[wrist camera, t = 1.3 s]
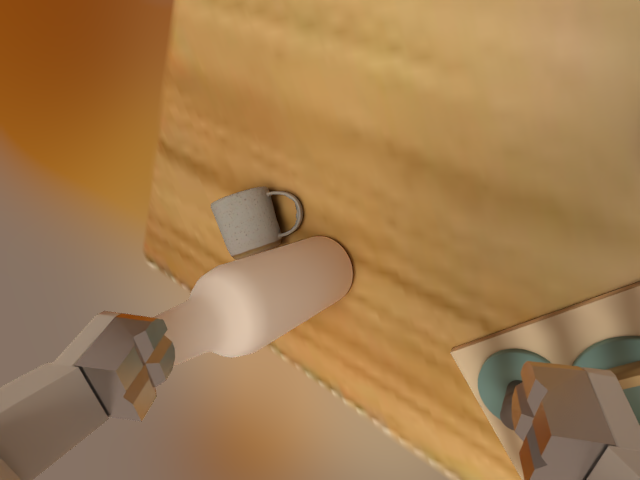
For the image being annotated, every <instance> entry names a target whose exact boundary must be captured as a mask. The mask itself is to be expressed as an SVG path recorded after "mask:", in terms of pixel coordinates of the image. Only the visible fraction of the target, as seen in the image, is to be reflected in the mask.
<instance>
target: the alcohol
mask: <svg viewBox="0 0 640 480" xmlns="http://www.w3.org/2000/svg"><path fill="white" fill-rule="evenodd" d="M352 278H353V270H352V265H351V261H350V259H349V257H348V254H347V253H346V251H345V250H344V249H343V247H342V246H341V245H339V244H338V243H337V242H336V241H334V240H333V239H330V238H328V237H323V236H314V237H311V238H308V239H304V240H301V241H298V242H294V243H291V244H288V245H285V246H281V247H278V248H275V249H272V250H268V251H265V252H262V253H259V254H255V255H252V256H249V257H245V258H242V259H239V260H236V261H232V262H229V263H226V264H223V265H219V266H217V267H215V268H213V269H212V270H210V271H209V272H208V273H206V274H205V275H203V276H202V277H201V278H200V279H199V280H198V281H197V283H196V285H195V286H194V288H193V290H192V292H191V294H190V297H189V299H188V300H187V301H186V302H184V303H182V304H180V305H177V306H176V307H173V308H171V309H169V310H167V311H165V312H163V313H161V314H159V315H157V316H155V317H152V318H158V319H163V320H164V322H165V324H166V327H167V329H168V330H167V331H166V333H165V334H164V335H165V336H166V337H167V338H168V339H170V340H171V341H172V342H173V345H174V348H175V361H174V365H173V366H176V365H178V364H180V363H182V362H185V361H187V360H189V359H192V358H194V357H197V356H199V355H202V354H204V353H206V352H213V353H216V354H218V355H221V356H226V357H239V356H244V355H248V354H251V353H254V352H256V351H258V350H259V349H261V348H263V347H264V346H266V345H268V344H269V343H271V342H272V341H274V340H276V339H277V338H279V337H281V336H282V335H284V334H285V333H287V332H289V331H290V330H292V329H293V328H295V327H297V326H298V325H300V324H301V323H303V322H305V321H306V320H308V319H310V318H311V317H313V316H314V315H316V314H318V313H319V312H321V311H322V310H324V309H326V308H327V307H329V306H331V305H332V304H334V303H335V302H337V301H339V300H340V299H341V298H343V297H344V296H345V295H346V294H347V292H348V291H349V289H350V287H351V283H352Z"/></svg>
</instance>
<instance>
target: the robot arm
mask: <svg viewBox="0 0 640 480" xmlns="http://www.w3.org/2000/svg"><path fill="white" fill-rule="evenodd" d="M167 330H168V329H167V327H166V324H165V322H164V320H163V319H158V318H152V317H145V316H138V315H131V314H124V313H116V312H108V311H103V312H101V313H99V314H97V315H96V316H95V317H94V318H93V319H92V320H91V321H90V323H89V324H88V325H87V326H86V327H85V328H84V329H83V330H82V332H80V334H79V335H78V336H77V337H76V338H75V339H74V340H73V341H72V343H71V344H70V345H69V346H68V347H67V348H66V349H65V350H64V351H63V353H62V354H61V355H60V356H59V357H58V358H57V359H56V360H55V361H54V362H53V363H45V364H43V365H42V366H40V367H38V368H36V369H34V370H32V371H30V372H28V373H26V374H24V375H23V376H21V377H19V378H17V379H15V380H13V381H11V382H9V383H8V384H6V385H4V386H2V387H0V480H33V479H34V478H35V477H37V476H38V475H39V474H40V473H42V472H43V471H44V470H46V469H47V468H48V467H49V466H51V465H52V464H53V463H54V462H56V461H57V460H58V459H59V458H61V457H62V456H63V455H64V454H66V453H67V452H68V451H69V450H71V449H72V448H73V447H74V446H76V445H77V444H78V443H79V442H81V441H82V440H83V439H84V438H86V437H87V436H88V435H89V434H91V433H92V432H93V431H95V430H96V429H97V428H98V427H100V426H101V425H102V424H103V423H105V422H106V421H107V420H108V419H109V418H108V417H113V418H120V419H127V420H135V421H142V420H143V418H144V417H145V415H146V413H147V412H148V410H149V408H150V407H151V405H152V403H153V402H154V400H155V398H156V396H157V395H156V387H157V386H158V385H160V384H161V383H163V382H164V381H166V380H167V378H168V376H169V374H170V373H171V371H172V368H173V365H174V361H175V348H174V345H173V342H172V341H171V340H170V339H168V338H167V337H166V336H165V335H164V334H165V333H166V331H167ZM520 373H521V377H522V381H523V382H522V383H520V384H518V385H517V386H515V389H514V393H513V396H512V408H511V410H512V421H513V426H514V431H515V433H516V434H517V435H518V436H519V437H520V439H521V440H522V441H523V445H522V447H521V449H520V452H519V456H520V461H521V465H522V470H523V475H524V480H640V425H639V423H638V421H637V419H636V417H635V414H634V412H633V410H632V408H631V406H630V404H629V402H628V400H627V398H626V396H625V394H624V392H623V390H622V387H621V385H620V383H619V381H618V379H617V377H616V375H615V374H614V373H613V372H612V371H611V370H602V369H594V368H585V367H579V366H570V365H561V364H551V363H542V362H532V361H527V362H525V363H524V364H523V367H522V370H521V372H520Z"/></svg>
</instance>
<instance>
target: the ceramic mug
mask: <svg viewBox="0 0 640 480" xmlns="http://www.w3.org/2000/svg"><path fill="white" fill-rule="evenodd" d="M277 194H279V195H285V196H287V197H289V198H290V199H292V200H293V201H294V202H295V205H296V209H297V214H296V218H297V220H296V224H295V225H294V227H293V228H292V229H291V230H289V231H287V232H285V233H281V231H280V228H279V224H278V222H277V219H276V215H275V211H274V207H273V203H272V200H271V196H272V195H277ZM211 209H212V211H213V213H214V216H215V218H216V221H217V224H218V226H219V229H220V231H221V234H222V236H223V239H224V242H225V244H226V247H227V249H228V251H229V253H230V254H231V256H232V257H233V258H234V259H236V260H239V259H242V258H245V257H249V256H252V255H255V254H258V253H261V252H264V251H266V250H269V249H272V248H275V247H277V246H279V245H280V244H281V238H282V237H283V236H287V235H289V234H291V233H292V232H294V231H295V230H296V229H297V228H298V227H299V226H300V224H301V222H302V218H303V210H302V206H301V204H300V201H299V200H298V199H297V198H296V197H295V196H294V195H292V194H290V193H288V192H283V191H272V192H269V190H268V188H267V187H257V188H252V189H248V190H245V191H241V192H238V193H235V194H232V195H229V196H226V197H224V198H221V199H219V200H217V201H215V202H213V203H212V204H211Z"/></svg>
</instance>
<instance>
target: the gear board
mask: <svg viewBox="0 0 640 480" xmlns="http://www.w3.org/2000/svg"><path fill="white" fill-rule="evenodd" d="M450 353H451V355H452V356H453V358H454V360H455V362H456V364H457V365H458V367H459V369H460V371H461V372H462V374H463V376H464V378H465V380H466V381H467V383H468V385H469V387H470V388H471V390H472V392H473V394H474V395H475V397H476V399H477V401H478V403H479V404H480V406H481V408H482V410H483V411H484V413H485V415H486V417H487V419H488V420H489V422H490V424H491V426H492V427H493V429H494V431H495V433H496V435H497V436H498V438H499V440H500V442H501V443H502V445H503V447H504V449H505V450H506V452H507V454H508V456H509V458H510V459H511V461H512V463H513V465H514V466H515V468H516V470H517V472H518V474H519V475H520V477H521V479H522V480H524V475H523V470H522V465H521V461H520V456H519V452H520V449H521V447H522V445H523V441H522V440H521V439H520V437H519V436H518V435H517V434H516V433H515V431H514V426H513V421H512V410H511V408H512V396H513V393H514V389H515V386H517V385H518V384H520V383H522V382H523V381H522V377H521V373H520V372H521V370H522V367H523V364H524V363H525V362H527V361H532V362H542V363H551V364H561V365H570V366H579V367H585V368H594V369H602V370H611V371H612V372H613V373H614V374H615V375H616V377H617V379H618V381H619V383H620V385H621V387H622V390H623V392H624V394H625V396H626V398H627V400H628V402H629V404H630V406H631V408H632V410H633V412H634V414H635V417H636V419H637V421H638V423H639V425H640V282H637V283H634V284H631V285H628V286H626V287H623V288H620V289H617V290H614V291H612V292H609V293H606V294H603V295H600V296H598V297H595V298H592V299H589V300H586V301H584V302H581V303H578V304H575V305H572V306H570V307H567V308H564V309H561V310H559V311H556V312H553V313H550V314H547V315H545V316H542V317H539V318H536V319H533V320H531V321H528V322H525V323H522V324H519V325H517V326H514V327H511V328H508V329H505V330H503V331H500V332H497V333H494V334H491V335H489V336H486V337H483V338H480V339H477V340H475V341H472V342H469V343H466V344H463V345H461V346H458V347H455V348H453V349H452V351H451V352H450Z"/></svg>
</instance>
